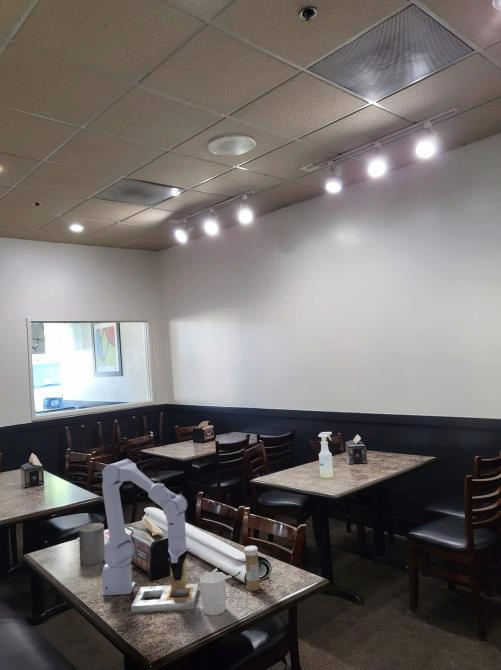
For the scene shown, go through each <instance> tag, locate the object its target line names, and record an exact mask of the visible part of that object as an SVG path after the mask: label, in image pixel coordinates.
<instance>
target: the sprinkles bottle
mask: <svg viewBox="0 0 501 670" xmlns="http://www.w3.org/2000/svg"><path fill="white" fill-rule="evenodd" d="M243 551H244V552H243V553H244V557H245V559H244V560H245V578H246V579H245V580H246V590H247V591H250V592H254V591H257V590H259V589H260V588H261V585H260V570H259V568H260V567H259V557H258V555H259V554H258V553H259V549H258V547H257V546H256V545H247V546H246V547H244V549H243Z"/></svg>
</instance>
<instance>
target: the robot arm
mask: <svg viewBox="0 0 501 670" xmlns="http://www.w3.org/2000/svg"><path fill="white" fill-rule="evenodd" d="M101 475H102V483H101V484H102V485H101V488H102V496H103V502H104V508H105V514H106V522H107V528H108V529H107V530H108V534H109V535H108V539H107V540H106V542H105V554H104V559H105V560H104V562H105V564H104V565H103V568H102V575H101V579H102V594H101V595H102V596H111V595H113V596H114V595H115V596H116V595H129V594H131V593H132V591H133V589H134V588H135V585H136V582H135V581H133V577H132V576H133V575H132V560H133V558H132V557H133V556H134V555H135V551H136V548H135V547H136V546H135V544H134V542H133V541H132V536H131V535H130V534H128V533H127V532H126V526H125V520H124V513H123V507H122V501H121V495H120V494H121V493H120V487H121V486H122V484H123V483H125V482H132V483H133V484H135V485H136V486H137V487H139V488H141V489H143V490H144V491H145V492H147V494H148V495H147V496H148V498H149V499H150V500H152V501H153V502H154V503H155V504H157V505H158V506H159V507H161V508H162V513H163V514H164V516H165V518H166V523H167V535H168V536H167V537H168V538H167V539H168V548H167V551H168V554H169V555H170V557H168V558H167V565H168V566H169V568H170V567H171V570H172V573H173V577H174V580H175V581H177V580H181V578H182V569H183V564H184V561H185V560H186V558H187V555H188V552H189V551H190V550H191V546H190V545H188V546H187V537H186V536H187V535H186V517H185V515H186V514H185V511H186V510H187V508H188V501H187V499H186V497H185V496H183V494H181V493H180V494H176V493H175V492H172V491H171V490H169V489H168V488H167V486H165V484H164V483H160V482H157V483H155V482H154V481H152V480H151V479H150V478H149V477H148V476H147V475H145V473H143V472H142V471H141V470H139V468H138V467H137V463H135V462H133V461H132V460H130V459H128V458H125V459H123V460H120V461H117V462H114V463H109V464H107V465H106V466H105V467H104V468H103V469H102V471H101Z"/></svg>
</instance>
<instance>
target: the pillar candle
mask: <svg viewBox="0 0 501 670" xmlns="http://www.w3.org/2000/svg"><path fill="white" fill-rule="evenodd" d="M104 527H105V524H103V523H101V522H93V523H92V522H91V523H87V524H84V525H81V526H80V527H79V528H78V533H79V534H78V535H79V536H78V538H79V539H78V540H79V542H78V543H79V564H80V565H81V566H83V567H93V566H96V565H99V564H101V563H103V562H105V559H104V554H105V544H106V542H105V528H104ZM92 565H93V566H92Z"/></svg>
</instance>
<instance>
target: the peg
mask: <svg viewBox="0 0 501 670" xmlns="http://www.w3.org/2000/svg"><path fill="white" fill-rule="evenodd" d="M186 565H187V564H186V559H185V561H184V564H183V569H182V578H181V580H177V581H175V580H174V577H173V573H172V570H171V567H170V566H169V570H170V571H169V572H170V573H169V574H170V585H171V590H182V589H185V587H186V584H188V582H187V581H188V580H187V566H186Z"/></svg>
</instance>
